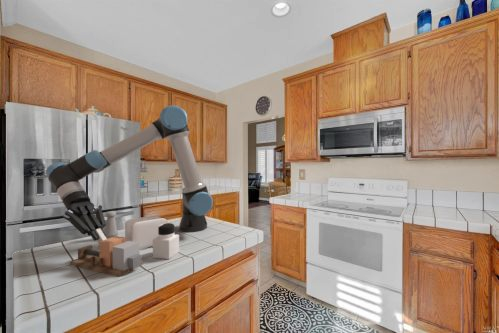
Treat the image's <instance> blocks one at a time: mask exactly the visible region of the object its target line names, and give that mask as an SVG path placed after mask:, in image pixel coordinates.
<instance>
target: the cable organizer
mask: <svg viewBox="0 0 499 333" xmlns="http://www.w3.org/2000/svg"><path fill="white" fill-rule="evenodd" d="M164 223H168V220H167V219H166V218H163V217H162V218H161V216H159V215H156V214H155V215H149V216H143V217H137V218H130V219H128V220H126V221H125V223H124V237H125V238H126V242H127V241H133V242H139V251H141V250H146V249H148V248H149V247H150V248H151V247H153V239H154V238H156V237H158V226H159V225H161V224H164Z"/></svg>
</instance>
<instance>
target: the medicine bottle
mask: <svg viewBox="0 0 499 333" xmlns="http://www.w3.org/2000/svg"><path fill="white" fill-rule="evenodd" d="M178 253H180V234H177V233H175V224H174V223H171V222H167V223H164V224H161V225H159V226H158V237H156V238H154V239H153V246H152V258H154V259H161V260H170V259H171V258H173V257H174V256H176V255H178Z"/></svg>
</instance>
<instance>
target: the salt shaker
mask: <svg viewBox="0 0 499 333" xmlns="http://www.w3.org/2000/svg"><path fill="white" fill-rule="evenodd" d="M104 217H105V218H106V220H105V222H106V226H105V227H104V229H103V230H104V232H105V233H106V236H105V237H106V238H107V239H109V238H112V237H115V236H118V234H119V230H118V227H117V221H116V217H117V212H116V211H115V210H111V211H107V212H105V216H104Z"/></svg>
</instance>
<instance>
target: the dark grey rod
mask: <svg viewBox="0 0 499 333" xmlns="http://www.w3.org/2000/svg"><path fill="white" fill-rule="evenodd" d="M84 254H87V255H92V256H97V257H99V250H95V249H92V250H90V249H86V250H85V251H84Z"/></svg>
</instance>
